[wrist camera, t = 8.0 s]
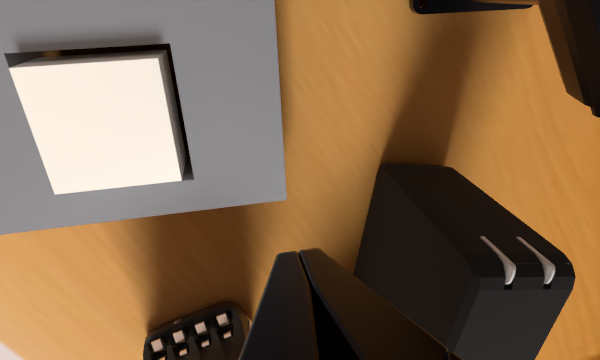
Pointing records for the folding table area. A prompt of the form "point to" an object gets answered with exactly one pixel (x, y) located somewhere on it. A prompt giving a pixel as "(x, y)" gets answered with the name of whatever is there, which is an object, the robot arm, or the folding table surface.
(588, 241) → the folding table surface
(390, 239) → the electronic device
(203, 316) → the battery charger
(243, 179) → the key panel
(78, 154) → the ivory key
